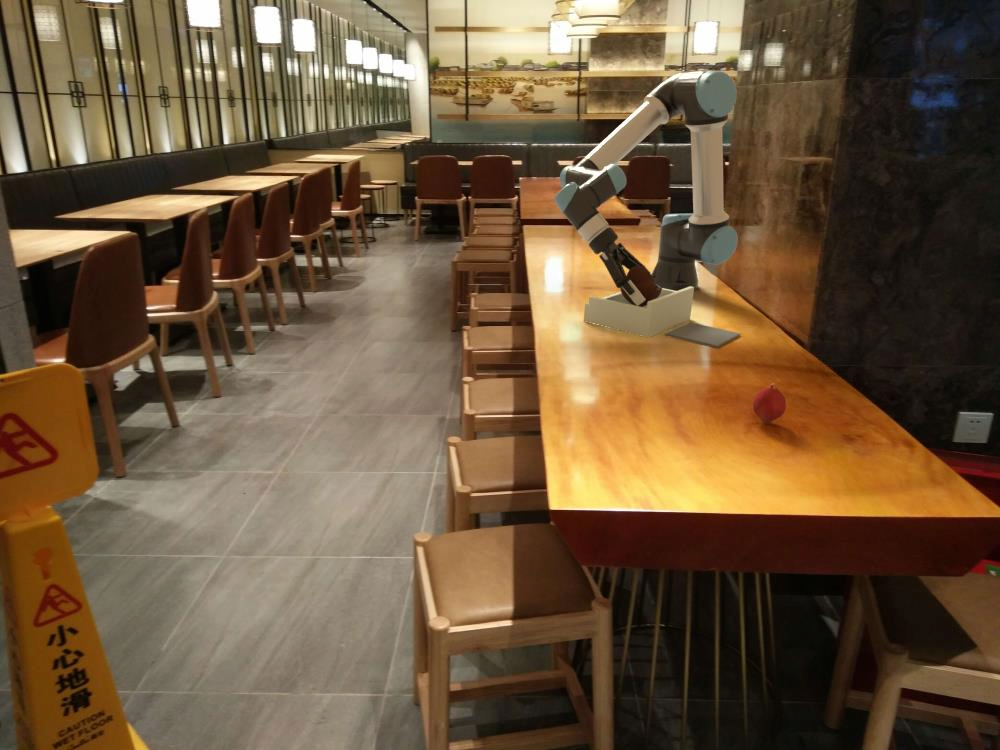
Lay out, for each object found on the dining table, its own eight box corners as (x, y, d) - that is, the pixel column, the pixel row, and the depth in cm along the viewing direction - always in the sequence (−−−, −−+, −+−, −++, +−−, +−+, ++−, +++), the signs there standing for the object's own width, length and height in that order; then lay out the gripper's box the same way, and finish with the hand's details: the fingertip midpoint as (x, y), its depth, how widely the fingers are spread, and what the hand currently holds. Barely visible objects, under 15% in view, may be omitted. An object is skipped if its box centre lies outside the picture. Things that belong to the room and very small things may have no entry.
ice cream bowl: (658, 327, 195) (664, 271, 190) (615, 323, 197) (620, 268, 191) (658, 316, 205) (664, 263, 199) (617, 313, 206) (622, 260, 201)
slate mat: (690, 324, 199) (690, 322, 198) (740, 335, 190) (740, 333, 190) (665, 335, 188) (665, 333, 188) (717, 347, 180) (717, 345, 180)
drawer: (628, 305, 215) (631, 274, 212) (690, 319, 203) (694, 287, 200) (583, 321, 198) (586, 288, 195) (648, 337, 186) (651, 302, 183)
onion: (744, 416, 141) (751, 377, 138) (774, 416, 142) (781, 377, 139) (757, 429, 136) (764, 388, 133) (787, 429, 136) (795, 388, 133)
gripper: (602, 236, 210) (648, 295, 210) (572, 251, 189) (624, 316, 189) (622, 219, 207) (669, 279, 206) (594, 232, 185) (647, 299, 185)
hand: (648, 297), depth 197 cm, fingers open, 13 cm apart
